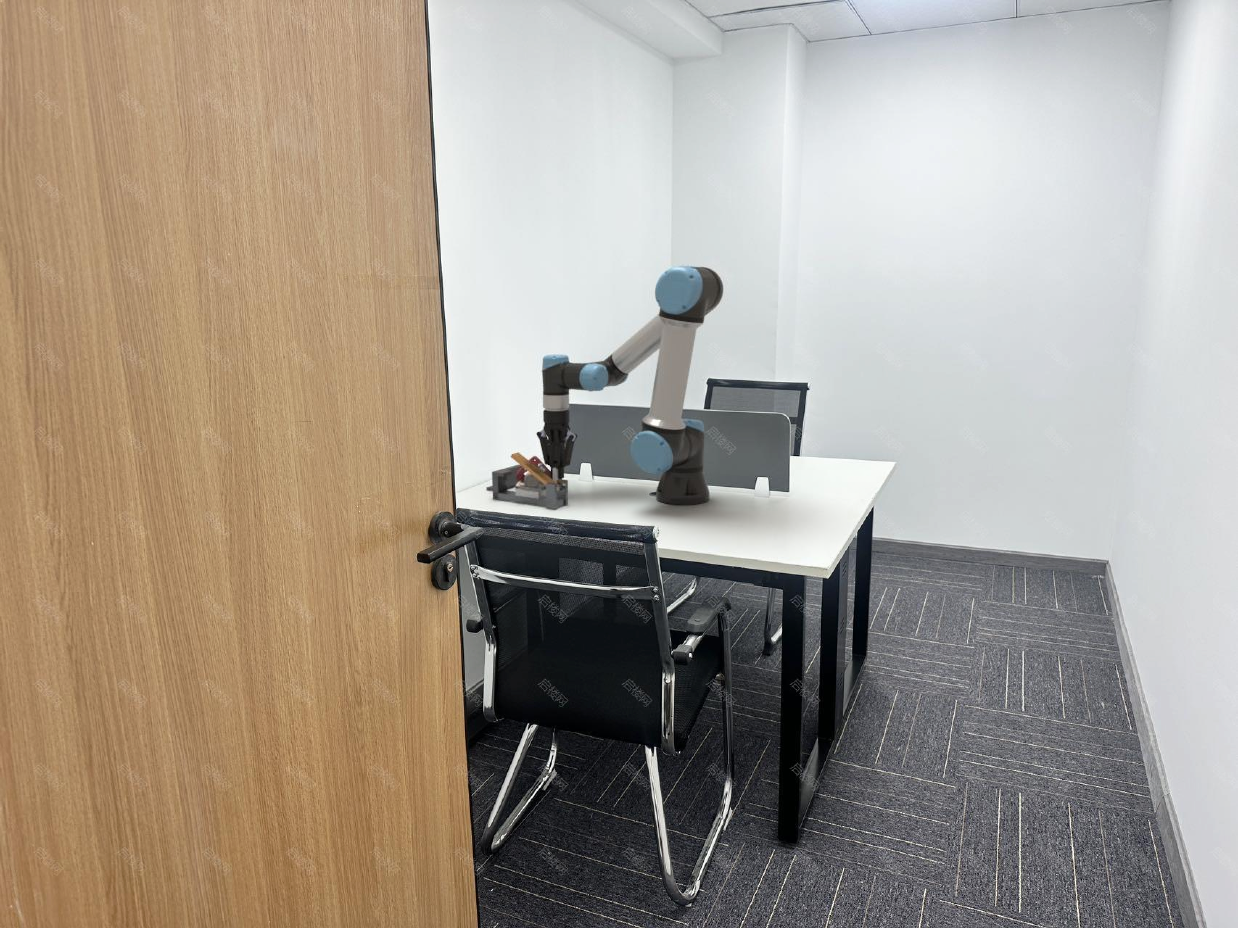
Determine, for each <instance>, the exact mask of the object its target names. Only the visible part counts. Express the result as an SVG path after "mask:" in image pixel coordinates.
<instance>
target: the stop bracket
mask: <svg viewBox="0 0 1238 928" xmlns="http://www.w3.org/2000/svg"><path fill="white" fill-rule="evenodd" d="M521 468H522V466H521V465H520V464H515V465H512V466H508V467H505V468H502V470H510V471H512V474H511V475H507V490H508V491H509V490H510V489H513V488H514V489H515V486H516V484H517V480H516V474H517V472H518V471H519V470H520V469H521ZM519 477H520V476H519ZM485 490H486V491H489V492H490V491H491V492H493V486H492V485H491V486H488V487H486V489H485Z"/></svg>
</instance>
